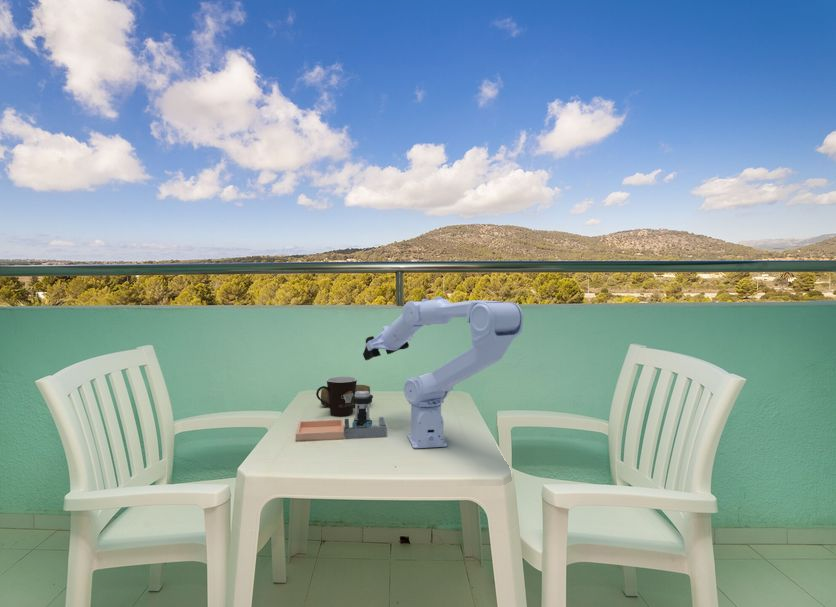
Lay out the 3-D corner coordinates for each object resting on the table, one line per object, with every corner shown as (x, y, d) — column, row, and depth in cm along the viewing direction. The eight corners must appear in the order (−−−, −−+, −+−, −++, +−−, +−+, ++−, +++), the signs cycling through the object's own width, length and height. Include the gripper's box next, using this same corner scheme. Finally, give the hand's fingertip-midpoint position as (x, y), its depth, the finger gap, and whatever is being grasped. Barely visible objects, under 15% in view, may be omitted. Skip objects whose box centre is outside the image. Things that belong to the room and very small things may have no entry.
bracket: (386, 436, 110) (386, 427, 109) (345, 438, 108) (345, 428, 108) (382, 426, 118) (382, 417, 118) (344, 428, 116) (344, 418, 116)
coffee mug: (354, 409, 135) (354, 376, 134) (358, 416, 126) (358, 381, 126) (315, 411, 132) (315, 377, 131) (316, 419, 123) (316, 383, 123)
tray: (343, 439, 107) (343, 431, 107) (295, 441, 105) (295, 433, 105) (342, 426, 117) (342, 419, 117) (298, 428, 115) (298, 421, 115)
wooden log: (370, 402, 143) (370, 382, 143) (370, 408, 136) (370, 386, 136) (322, 403, 141) (322, 382, 141) (320, 409, 134) (320, 387, 134)
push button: (378, 428, 116) (379, 390, 116) (376, 435, 111) (376, 395, 110) (353, 427, 116) (353, 389, 116) (349, 434, 111) (350, 394, 111)
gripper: (414, 313, 121) (390, 336, 130) (371, 322, 111) (348, 346, 121) (426, 335, 119) (400, 357, 128) (383, 347, 109) (359, 370, 119)
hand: (376, 354), depth 124 cm, fingers open, 7 cm apart
